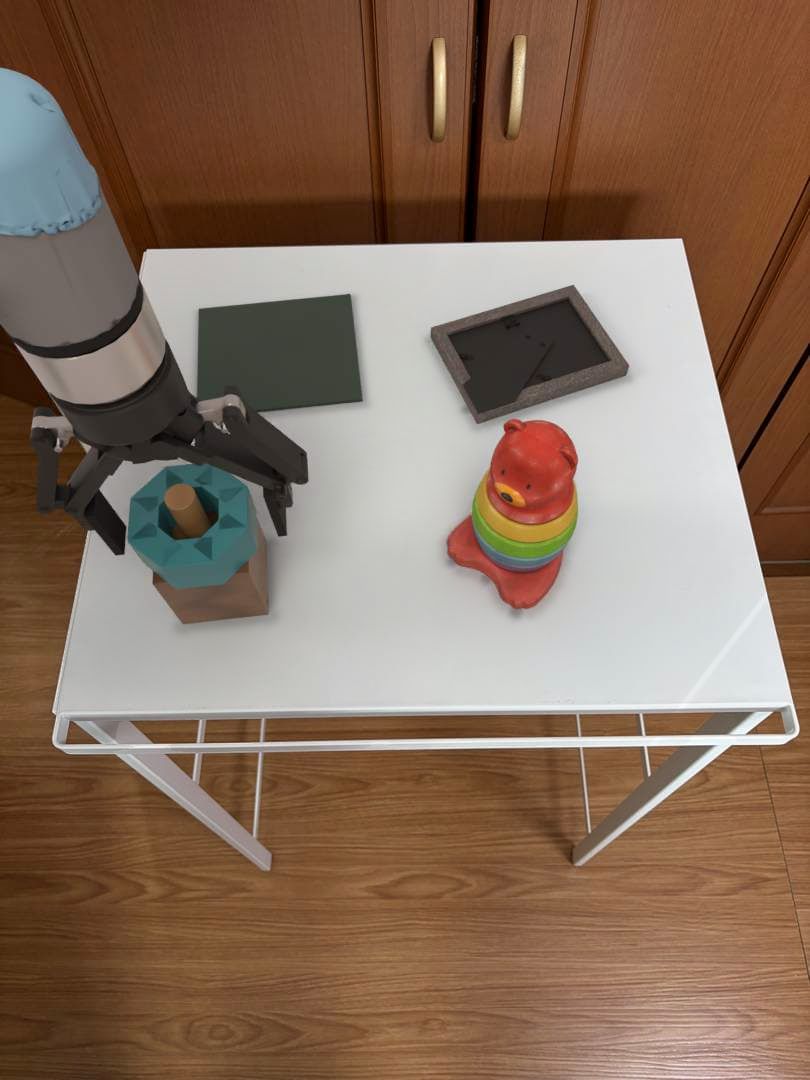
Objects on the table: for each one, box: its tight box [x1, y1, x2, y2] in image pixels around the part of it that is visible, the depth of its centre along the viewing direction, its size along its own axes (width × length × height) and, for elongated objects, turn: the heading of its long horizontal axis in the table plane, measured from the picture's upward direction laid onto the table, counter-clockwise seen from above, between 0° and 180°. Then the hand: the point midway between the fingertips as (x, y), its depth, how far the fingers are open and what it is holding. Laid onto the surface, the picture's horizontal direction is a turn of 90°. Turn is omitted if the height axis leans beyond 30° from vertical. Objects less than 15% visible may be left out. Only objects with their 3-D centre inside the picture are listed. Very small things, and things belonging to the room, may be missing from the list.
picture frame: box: [430, 284, 630, 425], centre depth 83 cm, size 13×2×18 cm
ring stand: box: [151, 484, 269, 625], centre depth 65 cm, size 8×8×16 cm
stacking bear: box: [446, 418, 579, 610], centre depth 65 cm, size 11×10×18 cm
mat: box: [196, 293, 363, 413], centre depth 85 cm, size 18×16×1 cm
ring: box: [126, 463, 258, 589], centre depth 62 cm, size 10×10×4 cm
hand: (202, 531), depth 63 cm, fingers open, 13 cm apart
